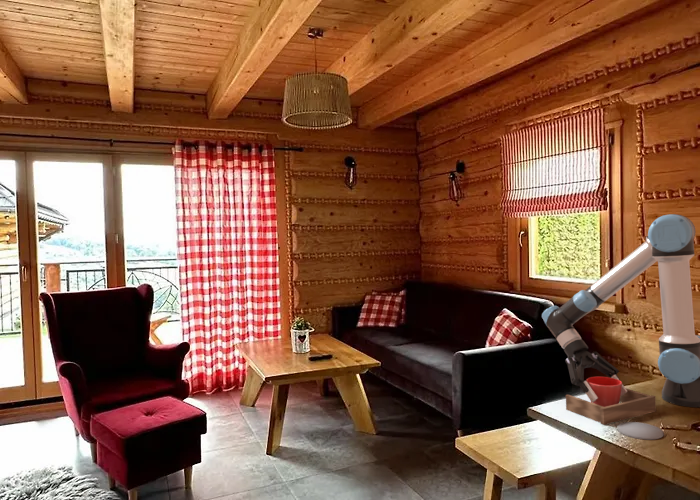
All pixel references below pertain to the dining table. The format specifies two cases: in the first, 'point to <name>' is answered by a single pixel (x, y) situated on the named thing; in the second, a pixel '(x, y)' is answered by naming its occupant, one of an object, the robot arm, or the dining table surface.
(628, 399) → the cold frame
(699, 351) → the robot arm
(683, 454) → the dining table surface
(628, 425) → the slate mat
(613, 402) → the flower pot
